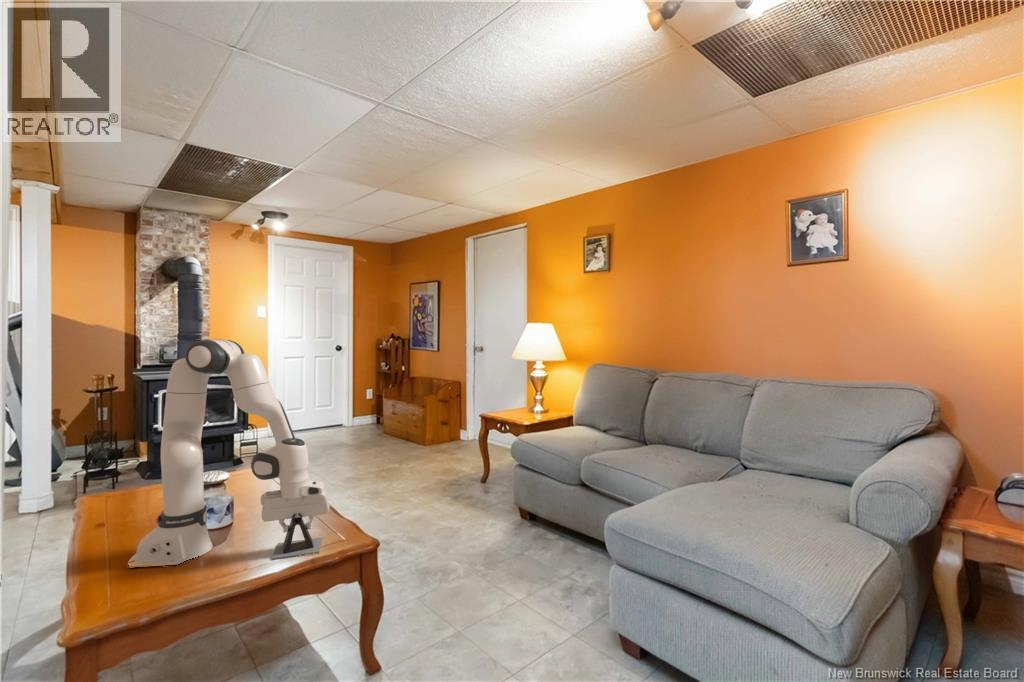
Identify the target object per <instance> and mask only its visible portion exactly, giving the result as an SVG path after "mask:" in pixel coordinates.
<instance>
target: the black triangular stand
mask: <svg viewBox="0 0 1024 682" xmlns="http://www.w3.org/2000/svg"><path fill="white" fill-rule="evenodd" d="M295 515H296V514H294V515H293V516H292V518H291V520H290V523H289V524H288V525H289V532H286V534H285V538H284V541H283V542H284V543H283V542H282V543H283V553H284V554H286V553H291V552H296V551H298V550H299V551H300V550H305V549H310V548H313V547H314V546H313V541H312V539H313V538H312V536H311V535H310V532H309V529H306V527H305V524H306V522H304V519H303V517H302V515H301V514H300V513H298V515H300V516H301V517H299V518H293V517H294V516H295ZM297 526H299V527H300V529H301V530H300V531H301V532H302V536H303V538H304V539H303V540H305V541H302V542H297V543H292V544H291V542H292V541H293V538H294V533H295V529H296V527H297Z"/></svg>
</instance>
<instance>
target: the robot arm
mask: <svg viewBox="0 0 1024 682" xmlns="http://www.w3.org/2000/svg"><path fill="white" fill-rule="evenodd" d="M242 347H243V346H241V345H240V344H239V343H238V342H236V341H235V340H230V339H223V338H213V339H200V340H198V341H196V342H194V343H192V344H190V346H188V348H187V350H186V352H185V357H183V358H180V359H177V360H176V361H174V362H173V364H172V365H171V368H170V371H169V375H168V379H167V383H166V384H167V385H166V390H165V391H166V392H165V400H164V401H165V403H164V404H165V405H164V412H163V424H162V433H161V442H160V468H161V470H160V471H161V484H162V498H163V499H162V501H163V503H162V504H163V510H162V511H161V512H160V514H159V515H158V516H157V518H156V519H155V524H157V525H156V527H155V528H153V529H152V530H150V532H149V533H147V534H146V535H145V536H144V537H143V538H141V540H140V541H139V542H138V545H137V548H136V553H135V554H133V555H132V557H131V558H130V559H129V560H128V561H127V566H128V565H129V566H137V565H139V566H141V565H142V566H143V565H171V564H172V565H173V564H180V563H182V562H184V561H186V560H188V561H190V560H189V559H191V560H192V558H194V559H196V558H198V556H199V557H202V556H203V555H204V554H207V553H208V552H210V551H211V550H212V549H213V547H214V546H213V543H212V541H211V538H210V534H209V531H208V530H209V529H208V524H207V522H208V511H207V506H206V503H205V488H204V454H203V453H204V452H203V448H202V434H203V429H204V428H203V427H204V421H205V417H206V416H205V415H206V405H207V395H208V393H207V392H208V383H209V380H210V379H209V378H210V377H211V376H212V375H221V374H224V375H225V376H226V377H228V379H229V382H230V386H231V390H232V395H233V399H234V401H235V403H236V406H237V407H238V408H239V409H240V410H241V411H242V412H244V413H247V414H249V415H254V416H258V417H261V418H263V419H264V420H265V421H266V422H267V423H268V425H269V427H270V430H271V433H272V436H273V439H274V440H275V445H274V446H271V447H269V448H265V449H264V450H261V451H259V452H257V453H256V454H254V456H253V457H252V459H251V463H250V468H251V471H252V473H253V475H254V476H255V477H256V478H257V479H259V480H262V481H265V480H266V481H268V480H275V479H279V488H280V490H279V489H278V490H271V491H265V492H264V493H263V494H262V495H261V496H260V504H261V505H262V508H261V519H262V521H263V522H265V523H267V522H272V521H278V524H279V525H280V526H281V527H282V529H283V530H282V532H283V533H287V532H289V525H290V524H286V523H285V521H286V520H289V519H292V516H293V515H294V514H296V515H295V516H294V517H293V518H299V517H301V516H300V515H298V513H300V514H301V515H302V518H305V517H306V518H307V517H308V519H309V520H308V522H307V521H306V522H305V527H306V529H307V530H310V529H311V528H312V522H313V520H314V517H315V516H319V515H327V514H328V513H329V512H330V501H329V495H328V493H327V490H326V489H325V483H324V481H320V480H314V479H311V478H310V474H309V466H310V462H309V460H310V459H309V451H308V446H307V444H306V442H305V441H304V440H302V439H301V438H298V437H295V434H294V431H293V429H292V427H291V424H290V421H289V418H288V416H287V414H286V411H285V409H284V407H283V404H282V403H281V401H280V400H279V399H278V398H277V397H276V395H275V393H274V392H273V389H272V387H271V383H270V379H269V376H268V372H267V370H266V368H265V365H264V363H263V361H262V360H261V359H262V358H260V356H258V355H257V354H256V353H255V354H254V353H249V352H247V353H245V350H244V349H243V348H242ZM195 557H196V558H195ZM133 560H135V562H133V563H129V562H130V561H133ZM186 562H187V561H186ZM184 563H185V562H184ZM182 564H183V563H182ZM180 565H181V564H180Z"/></svg>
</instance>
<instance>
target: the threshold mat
mask: <svg viewBox="0 0 1024 682" xmlns="http://www.w3.org/2000/svg"><path fill="white" fill-rule="evenodd" d="M322 538H323V536H322V537H315V538H314V537H313V538H312V541H313V546H314V547H313V548H310V549H305V550H300V551H299V550H298V551H296V552H291V553H286V554H284V553H283V543H284V541H283V542H278V543H277V545H276V546H275V549H274V551H273V553H272V555H271V560H270V561H275V560H276V559H277V560H282V558H283V559H289V558H288V557H290V558H294V557H293V556H297V557H300V556H299V555H304V556H307V555H306V554H311V555H314V554H313V553H318V554H320V552H319V551H320V550H321V547H322V542H323V539H322ZM302 541H305V539H300V540H292V542H291V544H292V543H297V542H302Z"/></svg>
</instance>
